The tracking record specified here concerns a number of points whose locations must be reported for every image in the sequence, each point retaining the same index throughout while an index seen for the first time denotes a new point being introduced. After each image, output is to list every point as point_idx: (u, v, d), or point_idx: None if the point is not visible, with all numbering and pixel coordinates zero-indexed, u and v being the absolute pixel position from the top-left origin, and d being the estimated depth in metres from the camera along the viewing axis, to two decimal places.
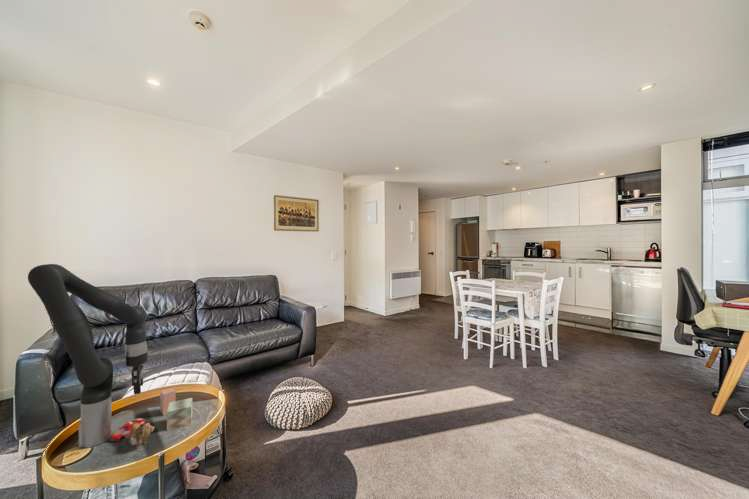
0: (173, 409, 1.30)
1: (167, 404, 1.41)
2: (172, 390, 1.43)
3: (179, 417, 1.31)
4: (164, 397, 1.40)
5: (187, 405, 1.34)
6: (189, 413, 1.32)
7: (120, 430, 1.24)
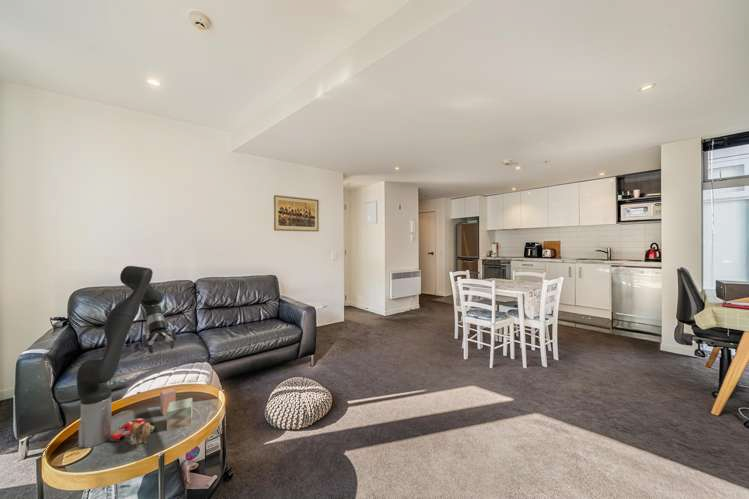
0: (173, 409, 1.30)
1: (167, 404, 1.41)
2: (172, 390, 1.43)
3: (179, 417, 1.31)
4: (164, 397, 1.40)
5: (187, 405, 1.34)
6: (189, 413, 1.32)
7: (120, 430, 1.24)
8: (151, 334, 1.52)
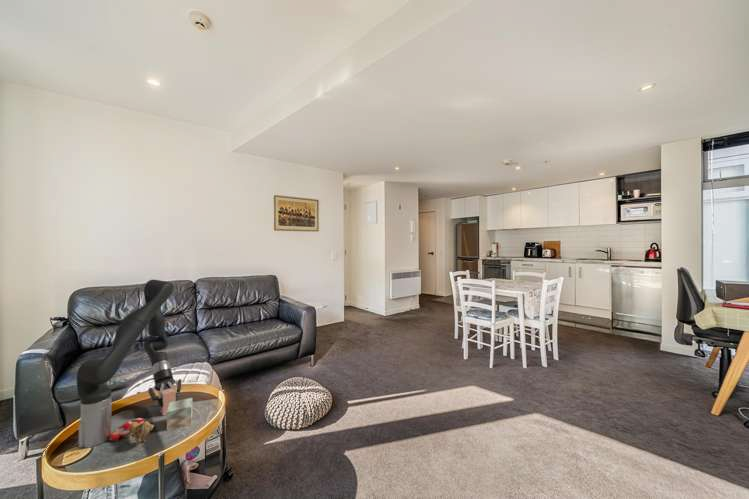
0: (173, 409, 1.30)
1: (167, 404, 1.41)
2: (172, 390, 1.43)
3: (179, 417, 1.31)
4: (164, 397, 1.40)
5: (187, 405, 1.34)
6: (189, 413, 1.32)
7: (119, 430, 1.24)
8: (157, 385, 1.44)
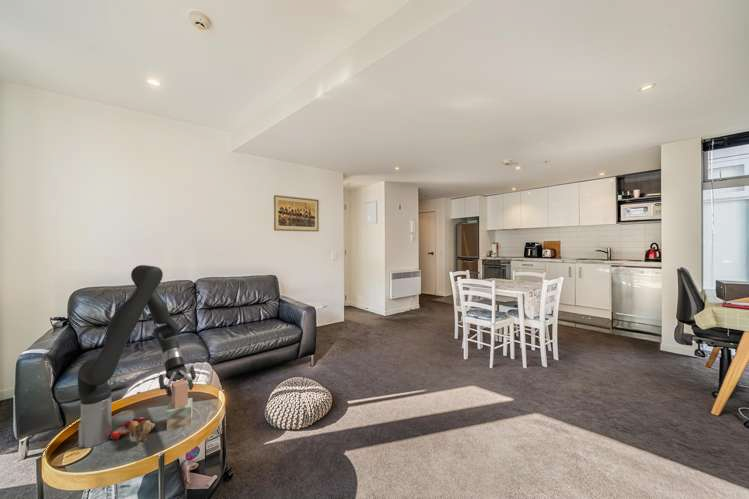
0: (173, 409, 1.30)
1: (179, 397, 1.32)
2: (184, 382, 1.35)
3: (179, 417, 1.31)
4: (176, 389, 1.31)
5: (187, 405, 1.34)
6: (189, 413, 1.32)
7: (120, 428, 1.25)
8: (168, 373, 1.35)
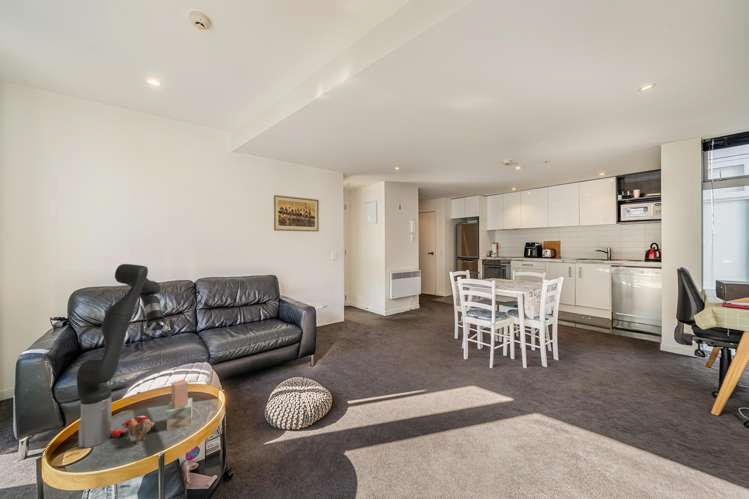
0: (173, 409, 1.30)
1: (179, 397, 1.32)
2: (184, 382, 1.35)
3: (179, 417, 1.31)
4: (176, 389, 1.31)
5: (187, 405, 1.34)
6: (189, 413, 1.32)
7: (121, 426, 1.26)
8: (149, 323, 1.51)
